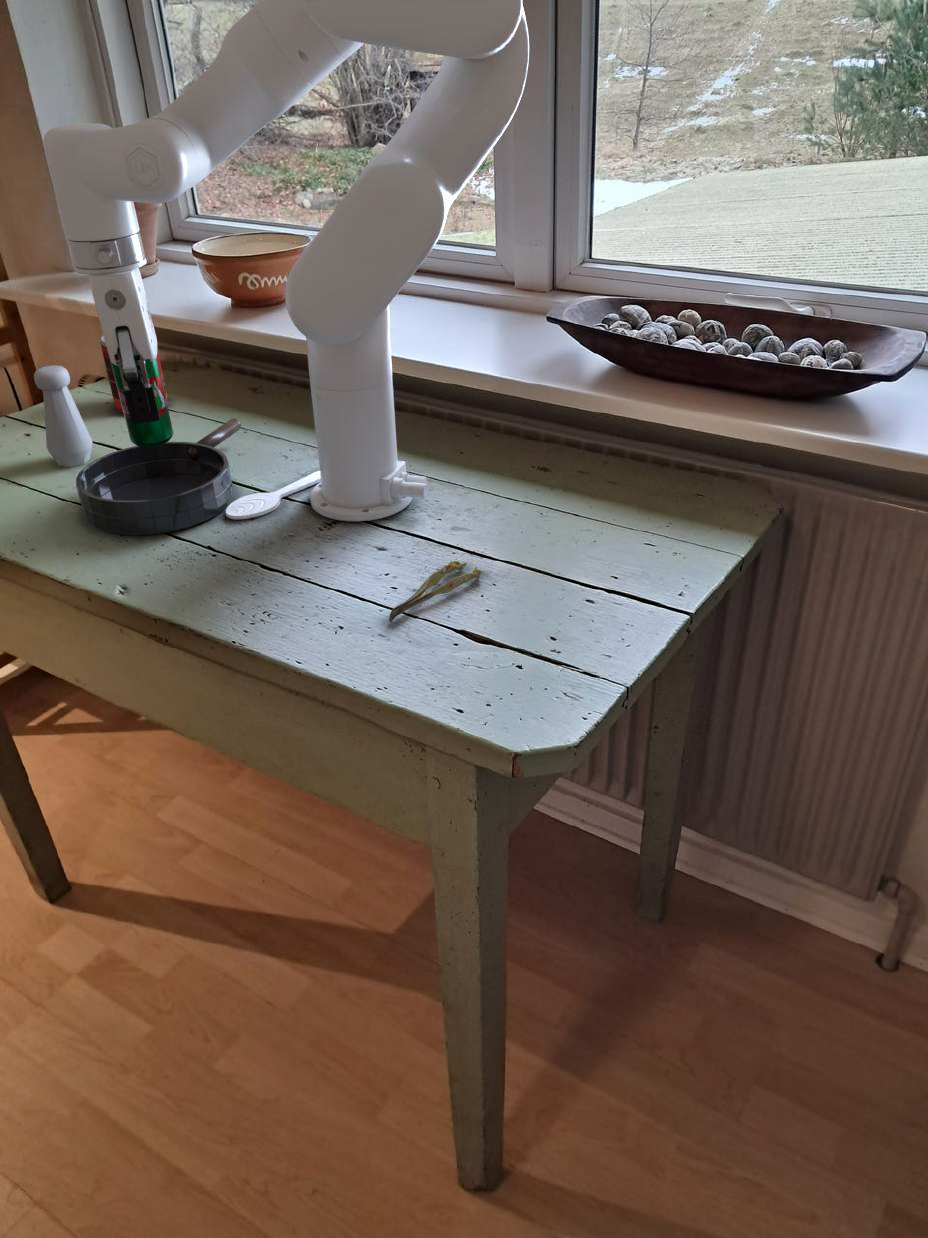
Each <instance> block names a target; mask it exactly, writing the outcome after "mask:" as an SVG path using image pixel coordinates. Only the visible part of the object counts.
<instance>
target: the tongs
mask: <svg viewBox="0 0 928 1238" xmlns="http://www.w3.org/2000/svg"><path fill="white" fill-rule="evenodd" d="M467 565H468V562H464V563H461V561H458V560H453V561H452V560H451V561H450V562H449V563H448V564H447V565H444V566H443V567H441V568H440V569H438V570H436V571H434V572H433V573H432V574H431V575H429V577H427V578H426V580H425V581H424V582H423V583H422V584H421V585H420V587H419V588H418V589H417V591H415V593H414V594H412V595H411V596H410V597H409V598H407V600H406V601H404V602H402V603H400V604H398V605H396V606H395V607H393V609H391V611H390V613H389V617H388V621H389V624H392V623H393V621H394V620H395V618H396V617H398V616H399V615H402V614H403V613H405V612H406V611H408V610H410V609H411V608H413V607H416V606H417V605H420V604H422V603H424V602H426V601H429V600H430V599H432V598H434V597H435V596H437V595H440V594H443V593H445V592H446V593H447V592H451V591H453V590H455V589H457V588H458V587H460V586H462V585H464V584H466V583H468V582H470V581H472V580H473V579H475V578H480V576H481V575H482V574H483V573H484V571H483V570H482V569H479V568H478V567H477V566H474V569H473V571H472V572H466V573H464V574H462V575H460V576H456V577H453V578H450V580H448V581H447V582H445V583H443V584H442V585H440V586H438V587H437V588H435V589H433V590H431V591H428V592H426V591H427V590H429V589H430V588H432V587H435V586H437V585H438V584H439V583H440V582H441V580H442V579H443V578H444V577H446V576H447V575H449V574H450V573H453V572H455V571H462V570H463V569H465V568H466V567H467ZM425 592H426V593H425Z"/></svg>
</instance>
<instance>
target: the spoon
mask: <svg viewBox="0 0 928 1238" xmlns="http://www.w3.org/2000/svg"><path fill="white" fill-rule="evenodd" d="M320 482H321V476H320V469H319V470H317V471H314V472H311V474H308V475H306V476H304V477H301V478H300V479H298V480H295V482H293V481H292V483H290V484H287V485H285V486H284V487H282V488H278V489H277V490H275V491H274V490H273V491H269V492H268V491H265V492H264V491H263V492H260V491H259V492H254V493H249V494H247V495H243V496H241V497H239V498H237V499H235V500H234V501H231V502H230V503H229V504H228V506H227V507H226V509H225V516H226V517H227V518H228V519H230V520H231V519H232V520H246V519H247V520H248V519H252V518H257V517H261V516H264V515H267V514H268V513H271V512H273V511H275V510H276V509H278V508H279V506H280V505H281V499H283V498H284V497H287V496H289V495H292V494H294V493H295V494H296V493H297V492H299V491H301V490H305V489H307V488H308V487H311V486H314V485H317V484H319V483H320Z"/></svg>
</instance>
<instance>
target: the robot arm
mask: <svg viewBox="0 0 928 1238" xmlns="http://www.w3.org/2000/svg"><path fill="white" fill-rule="evenodd" d="M364 45H371V46H376V47H381V48H387V49H395V50H400V51H408V52H416V53H422V54H431V55H436V56H443V59H442V62H441V65H440V68H439V70H438V72H437V73H436V75H435V77H434V79H433V80H432V81H431V83H430V84H429V85H428V87H427V88H426V90H425V91H424V92H423V94H422V95H421V97H420V98H419V100H418V101H417V103H416V104H415V106H414V108H413V109H412V111H411V112H410V114H409V115H408V116H407V118H406V119H405V120H404V122H403V123H402V124H401V125H400V126H399V128H398V129H397V131H396V132H395V133H394V135H393V136H392V137H391V138H390V140H389V141H388V142H387V144H386V145H385V146H384V147H383V149H381V151H379V153H377V154H376V155H375V156H374V157H372V159H371V160H370V161H369V162H367V164H366V165H365V166H364V168H363V169H362V171H361V172H360V174H359V175H358V176H357V178H356V179H355V181H354V182H353V184H352V185H351V187H350V188H349V189H348V191H347V192H346V194H345V195H344V196H343V198H342V199H341V200H340V202H339V203H338V205H337V206H336V207H335V208H334V210H333V212H332V213H331V215H330V216H328V219H327V220H326V221H325V223H324V224H323V226H322V227H321V228H320V230H319V231H318V232H317V233H316V235H315V237H314V238H313V239H311V240H310V241H309V242H308V244H307V245H306V246H305V247H304V249H303V250H302V252H301V254H300V255H299V257H298V259H297V260H296V261H295V263H294V264H293V266H292V268H291V270H290V271H289V273H288V276H287V279H286V283H285V287H284V288H285V289H284V297H285V298H284V299H285V306H286V310H287V313H288V315H289V318H290V320H291V322H292V324H293V325H294V327H295V328H296V329H297V330H298V331H299V332H300V333H301V334H302V335H303V336H304V337H305V343H306V355H307V367H308V375H309V387H310V395H311V404H312V410H313V411H312V413H313V422H314V431H315V438H316V439H315V440H316V448H317V458H318V465H319V470H320V476H321V482H319V483H317V484H315V486H314V487H313V488H312V490H311V491H310V494H309V500H310V505H311V507H312V509H313V510H314V511H315V512H316V513H317V514H319V515H321V516H323V517H325V518H328V519H332V520H337V521H341V522H369V521H376V520H380V519H383V518H384V519H385V518H387V517H390V516H393V515H396V514H397V513H400V512H401V511H403V510H404V509H405V508H407V507H408V506H409V505H410V503H411V502H412V500H413V499H415V500H423V501H427V500H428V499H429V495H430V484H428V483H427V482H428V479H427V476H423V475H421V476H420V475H412V474H411V475H410V473H409V472H407V465H406V464H407V463H406V461H403V460H398V447H397V446H398V445H397V443H398V442H397V431H396V430H397V429H396V413H395V412H396V411H395V399H394V385H393V384H394V383H393V381H394V380H393V363H392V347H391V345H392V343H391V318H390V316H391V315H390V304H391V303H392V302H393V300H394V299H395V298H396V297H397V296H398V294H399V293H400V292H401V290H402V289H403V288H404V286H406V284H407V283H408V282H409V280H410V279H411V278H412V277H413V275H414V274H415V273H416V271H418V269H419V268H420V267H421V265H422V264H423V263H424V261H425V260H426V259H427V257H428V256H429V255H430V254H431V252H432V251H433V249H434V248H435V246H436V245H437V243H438V241H439V239H440V238H441V235H442V233H443V231H444V228H445V225H446V221H447V218H448V217H447V216H448V213H449V211H450V208H451V206H452V205H453V204H454V202H455V200H456V199H457V197H458V196H459V194H460V193H461V192H462V190H463V189H464V188H465V187H466V185H467V184H468V182H469V181H470V180H471V179H472V178H473V176H474V174H476V172H477V170H478V169H479V168H480V166H481V165H482V163H483V162H484V161H485V159H487V157H488V155H489V153H490V152H491V151H492V150H493V148H494V146H495V145H496V144H497V142H498V141H499V140H500V138H501V137H502V136H503V134H504V132H505V131H506V129H507V128H508V126H509V124H510V123H511V121H512V119H513V117H514V115H515V113H516V111H517V109H518V106H519V104H520V101H521V99H522V96H523V93H524V89H525V86H526V81H527V75H528V68H529V60H530V38H529V29H528V24H527V19H526V14H525V10H524V6H523V0H260V1H259V2H258V3H256V4H255V5H254V6H253V7H252V8H250V10H249V11H247V12H246V13H245V14H244V15H243V16H241V18H240V19H238V20H237V21H236V22H235V23H234V24H233V25H232V26H231V27H230V29H229V30H228V31H227V33H226V34H225V36H224V38H223V40H222V43H221V46H220V48H219V51H218V53H217V55H216V57H215V59H214V60H213V61H212V62H211V64H210V65H209V66H208V67H207V69H205V71H204V72H203V73H202V74H201V75H200V76H199V77H198V78H197V79H196V80H195V81H194V82H193V83H192V84H190V85H189V87H188V88H186V89H185V90H184V91H183V92H182V93H181V94H180V95H179V96H177V97H176V98H175V99H174V100H173V101H172V102H171V103H170V104H169V105H167V106H166V107H165V108H164V109H163V110H161V112H159V113H158V114H156V115H153V116H150V117H148V118H145V119H142V120H140V121H137V122H135V123H131V124H127V125H123V126H119V127H112V126H110V125H108V124H104V123H96V122H95V123H94V122H93V123H76V124H68V125H59V126H57V127H53V128H50V129H49V130H47V131H46V132H45V134H44V137H43V141H42V143H43V145H42V146H43V151H44V155H45V159H46V162H47V166H48V170H49V174H50V177H51V181H52V186H53V190H54V193H55V194H54V195H55V197H56V202H57V205H58V209H59V212H60V217H61V220H62V224H63V228H64V232H65V236H66V239H67V244H68V247H69V252H70V255H71V258H72V263H73V266H74V271H75V273H77V274H81V275H87V277H88V281H89V286H90V289H91V293H92V298H93V302H94V306H95V311H96V313H97V318H98V322H99V325H100V328H101V332H102V336H104V340H105V343H106V347H107V350H108V353H109V356H110V359H111V362H112V363H113V364H115V365H117V366H118V365H119V367H120V371H121V376H122V381H123V385H124V395H125V399H126V403H127V407H128V411H129V415H130V419H131V422H132V423H133V424H139V423H147V422H154V421H158V420H159V419H160V416H159V411H158V407H157V403H156V398H155V394H154V390H153V386H150V384H149V379H148V374H147V369H146V363H145V359H150V360H151V362H152V361H154V360H155V359H156V357H157V347H158V339H157V333H156V331H155V327H154V323H153V319H152V314H151V310H150V306H149V305H150V304H149V302H148V297H147V294H146V290H145V285H144V281H143V278H142V274H141V271H140V268H142V267H143V266H145V265H147V263H148V262H147V257H146V252H145V248H144V244H143V240H142V235H141V231H140V226H139V221H138V216H137V212H136V208H135V203H140V204H151V205H152V204H153V205H155V204H164V203H168V202H171V201H173V200H176V199H177V198H178V197H180V196H182V195H183V194H185V193H186V192H187V191H188V190H190V189H192V188H193V187H196V186H197V185H198V184H200V183H201V182H202V181H203V180H204V179H205V178H207V177H208V176H209V175H210V174H211V173H212V172H214V170H216V169H217V168H218V167H219V166H220V165H221V164H223V163H224V162H225V161H226V160H227V159H228V158H230V157H231V156H232V155H233V154H234V153H235V152H236V151H238V150H239V149H240V148H241V147H242V146H243V145H245V144H246V143H247V142H248V141H249V140H251V138H252V137H254V136H255V135H256V134H257V133H258V132H259V131H260V130H262V129H263V128H264V127H265V126H267V125H268V124H270V123H271V122H273V121H275V120H277V119H279V118H280V117H282V116H283V115H284V114H286V112H288V110H289V109H291V108H292V107H293V106H294V105H295V104H296V103H298V102H299V101H300V100H301V99H302V98H303V97H305V96H306V95H307V94H308V93H309V92H310V91H312V90H313V89H314V88H316V86H317V85H318V84H319V83H320V82H322V81H323V80H324V79H325V78H326V77H328V76H329V75H330V74H332V72H333V71H334V70H335V69H336V68H338V67H339V66H341V64H342V63H344V62H345V61H346V60H347V59H349V58H351V56H352V55H353V54H354V53H355V52H356V51H358V50H359V49H360V48H361V47H362V46H364ZM131 338H132V341H131ZM114 354H117V355H114ZM135 355H139V356H140V360H137V361H135V359H134V356H135ZM136 366H140V367H141V371H140V370H137V367H136Z"/></svg>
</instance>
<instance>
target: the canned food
mask: <svg viewBox="0 0 928 1238" xmlns="http://www.w3.org/2000/svg"><path fill="white" fill-rule="evenodd" d="M99 341H100V347H101V352H102V353H101V354H102V357H103V360H104V361H103V362H104V365H105V369H106V375H107V378H108V382H109V387H110V392H111V395H112V399H113V403H114V406H115V408H116V410H117V411H118V412H120V413H121V414H124V413H123V409H122V405H121V401H120V397H119V393H118V389H117V385H116V381H115V377H114V373H113V369H112V366H111V362H110V358H109V353H108V350H107V347H106V343H105V340H104V336H103V335H102V336H101V337H100V338H99ZM156 358H157V362H158V367H159V371H160V375H161V380H162V384H163V389H164V393H165V398H166V402H168V394H167V390H166V384H165V379H164V374H163V369H162V363H161V358H160V354H159V348H158V346H157V357H156Z"/></svg>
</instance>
